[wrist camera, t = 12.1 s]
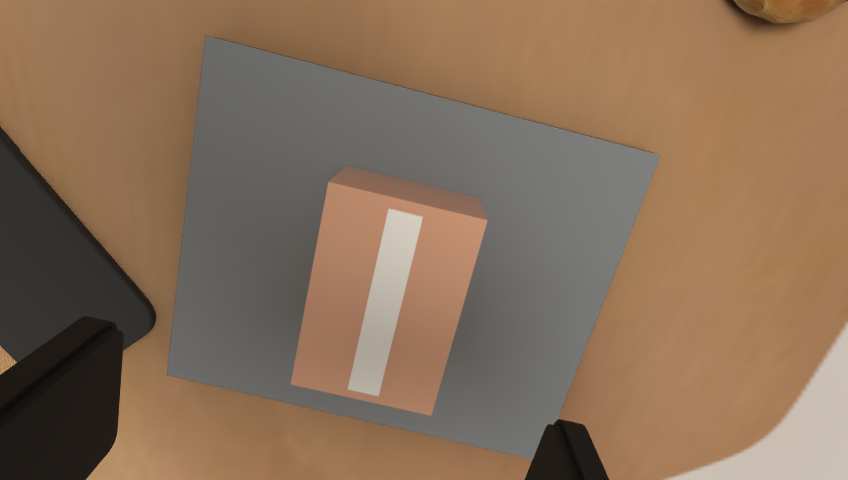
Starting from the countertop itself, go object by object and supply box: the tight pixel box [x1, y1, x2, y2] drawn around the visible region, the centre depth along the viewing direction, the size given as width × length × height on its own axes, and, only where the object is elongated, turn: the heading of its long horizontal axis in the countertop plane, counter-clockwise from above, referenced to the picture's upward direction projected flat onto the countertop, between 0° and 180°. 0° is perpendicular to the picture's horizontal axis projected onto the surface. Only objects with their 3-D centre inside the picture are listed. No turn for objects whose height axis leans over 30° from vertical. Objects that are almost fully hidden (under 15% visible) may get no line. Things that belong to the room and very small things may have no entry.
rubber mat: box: [167, 35, 661, 459], centre depth 22 cm, size 18×15×1 cm
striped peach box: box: [291, 166, 488, 416], centre depth 20 cm, size 8×6×4 cm
